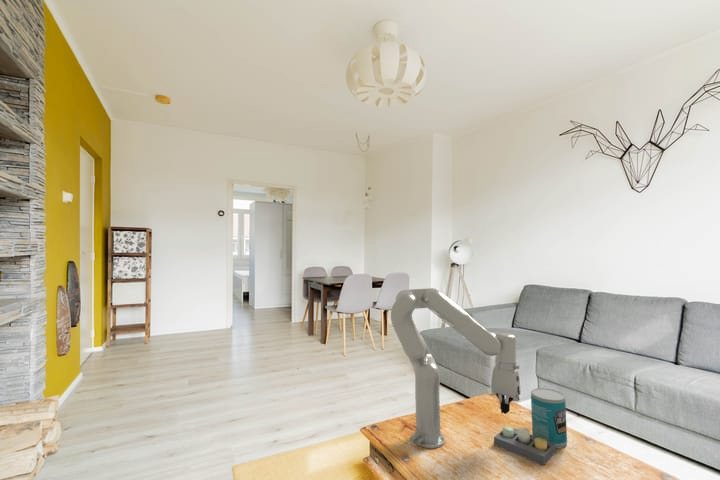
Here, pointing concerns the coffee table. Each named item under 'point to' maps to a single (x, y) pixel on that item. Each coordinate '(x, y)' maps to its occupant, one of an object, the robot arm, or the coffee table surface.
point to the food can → (549, 416)
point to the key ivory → (523, 435)
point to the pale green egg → (508, 432)
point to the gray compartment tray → (525, 447)
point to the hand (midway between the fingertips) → (504, 412)
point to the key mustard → (541, 444)
